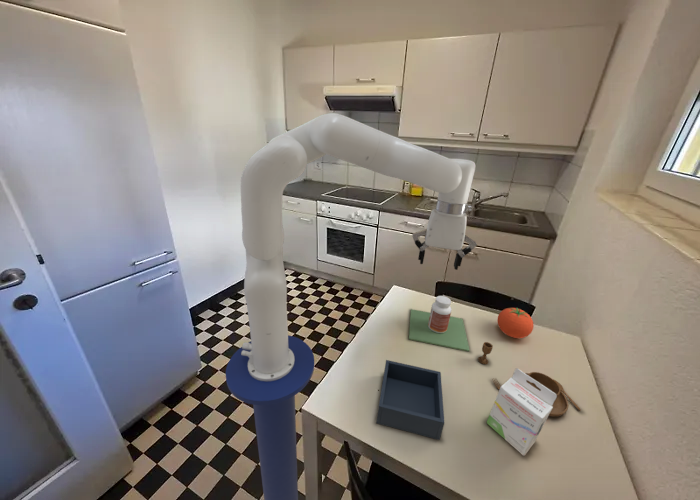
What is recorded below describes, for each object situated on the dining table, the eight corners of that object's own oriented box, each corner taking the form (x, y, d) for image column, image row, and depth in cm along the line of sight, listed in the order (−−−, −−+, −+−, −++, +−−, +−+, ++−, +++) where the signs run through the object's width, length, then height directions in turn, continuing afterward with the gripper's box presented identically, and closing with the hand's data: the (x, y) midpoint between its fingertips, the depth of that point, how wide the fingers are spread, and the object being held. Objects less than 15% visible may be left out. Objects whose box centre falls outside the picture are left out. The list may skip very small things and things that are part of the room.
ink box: (484, 423, 63) (502, 375, 57) (496, 412, 66) (514, 365, 60) (524, 457, 57) (549, 407, 51) (535, 444, 59) (560, 395, 54)
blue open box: (376, 423, 62) (378, 406, 59) (383, 375, 74) (386, 359, 72) (439, 440, 59) (444, 422, 57) (436, 387, 71) (440, 371, 69)
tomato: (526, 330, 95) (536, 305, 91) (530, 349, 86) (540, 323, 82) (493, 320, 99) (501, 296, 95) (494, 338, 90) (502, 312, 86)
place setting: (522, 423, 64) (530, 405, 61) (474, 357, 82) (478, 342, 79) (587, 415, 66) (597, 398, 64) (526, 353, 84) (533, 338, 82)
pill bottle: (450, 333, 90) (457, 304, 86) (433, 335, 89) (440, 306, 84) (440, 321, 96) (447, 293, 91) (424, 322, 94) (430, 295, 90)
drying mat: (408, 339, 87) (409, 338, 87) (410, 310, 102) (410, 309, 101) (469, 351, 84) (469, 350, 83) (462, 319, 98) (462, 318, 98)
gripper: (482, 208, 76) (467, 264, 83) (417, 200, 79) (408, 255, 86) (488, 215, 69) (471, 275, 76) (417, 206, 72) (407, 265, 79)
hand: (438, 265), depth 81 cm, fingers open, 9 cm apart
